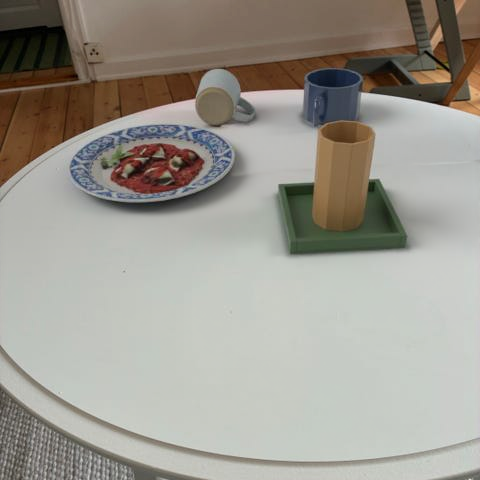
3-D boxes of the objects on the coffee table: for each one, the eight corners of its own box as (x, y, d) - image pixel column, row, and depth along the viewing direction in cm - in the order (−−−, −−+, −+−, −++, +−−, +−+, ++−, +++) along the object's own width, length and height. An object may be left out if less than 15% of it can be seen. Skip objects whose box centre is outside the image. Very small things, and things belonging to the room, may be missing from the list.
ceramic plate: (266, 157, 88) (266, 140, 85) (163, 233, 72) (161, 214, 70) (147, 124, 99) (144, 108, 97) (36, 184, 83) (30, 166, 81)
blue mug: (314, 103, 103) (316, 65, 99) (365, 111, 100) (370, 72, 95) (287, 130, 95) (288, 89, 90) (341, 139, 91) (345, 98, 87)
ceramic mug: (194, 127, 97) (191, 83, 91) (201, 109, 103) (198, 67, 97) (253, 129, 96) (253, 85, 91) (256, 111, 102) (257, 68, 97)
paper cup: (356, 203, 76) (367, 118, 68) (367, 230, 71) (380, 143, 62) (309, 205, 76) (314, 121, 67) (317, 233, 71) (324, 145, 62)
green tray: (377, 190, 79) (379, 178, 78) (404, 248, 68) (407, 235, 67) (278, 195, 79) (278, 183, 77) (289, 254, 68) (290, 242, 67)
